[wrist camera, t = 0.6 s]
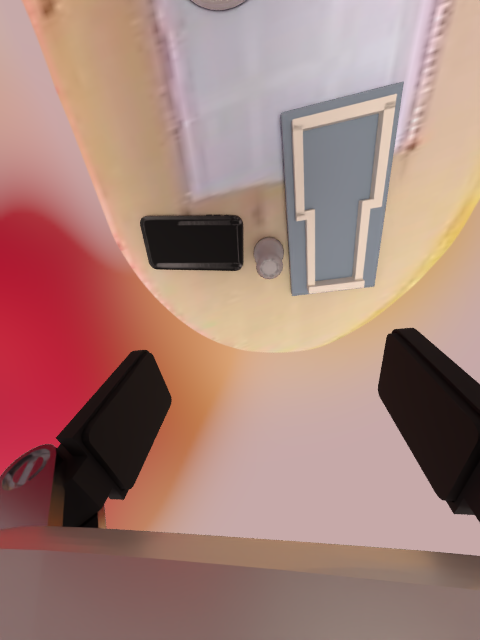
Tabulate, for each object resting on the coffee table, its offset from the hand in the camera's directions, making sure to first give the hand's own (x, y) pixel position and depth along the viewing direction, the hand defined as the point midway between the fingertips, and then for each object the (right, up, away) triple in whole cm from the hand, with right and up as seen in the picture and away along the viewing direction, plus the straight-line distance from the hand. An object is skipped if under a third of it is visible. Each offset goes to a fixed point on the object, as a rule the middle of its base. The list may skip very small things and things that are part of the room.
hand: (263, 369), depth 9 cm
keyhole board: (+12, +17, +21) cm, 29 cm away
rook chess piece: (+3, +12, +24) cm, 27 cm away
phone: (-8, +14, +25) cm, 30 cm away
